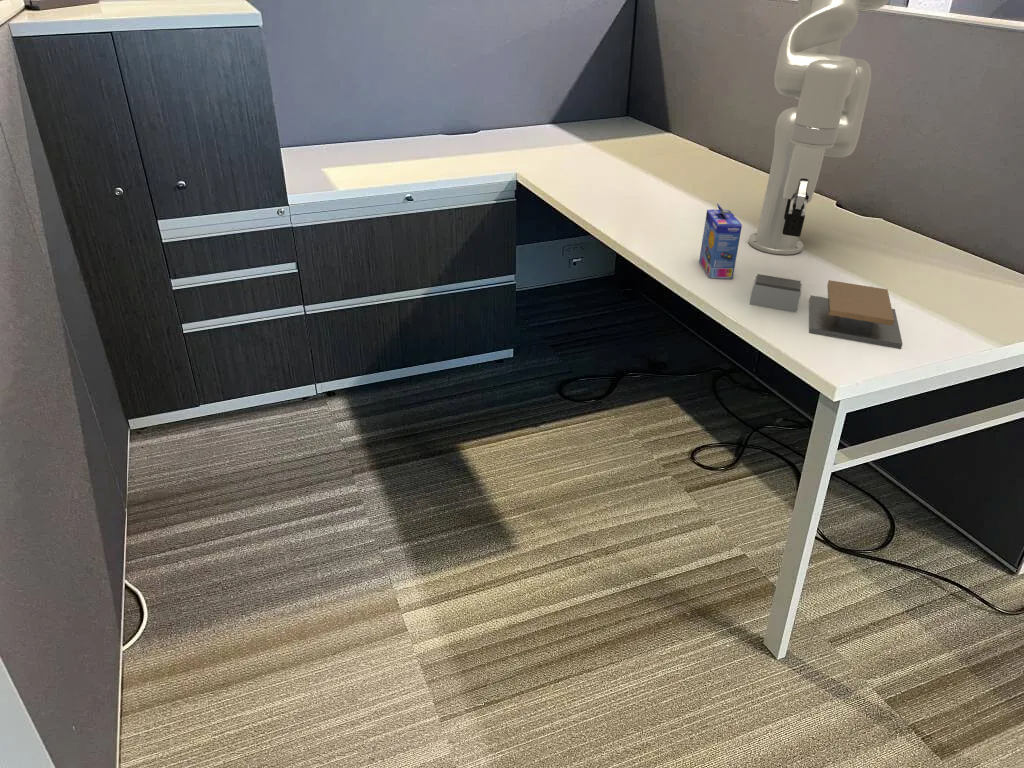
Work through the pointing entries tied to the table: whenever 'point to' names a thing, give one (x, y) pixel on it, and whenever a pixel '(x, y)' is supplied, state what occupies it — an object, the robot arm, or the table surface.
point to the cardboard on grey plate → (855, 314)
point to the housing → (776, 293)
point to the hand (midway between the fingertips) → (791, 227)
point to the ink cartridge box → (720, 243)
